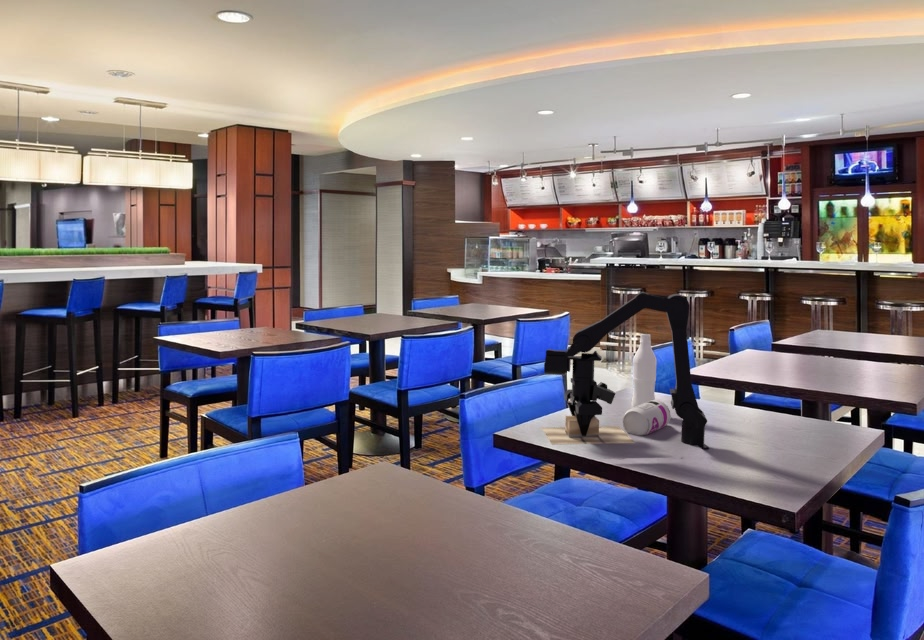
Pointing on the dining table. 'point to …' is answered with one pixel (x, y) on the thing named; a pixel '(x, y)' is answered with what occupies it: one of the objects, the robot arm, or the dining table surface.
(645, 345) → the water bottle
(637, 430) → the supplement can
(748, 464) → the dining table surface
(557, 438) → the board
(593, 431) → the block
